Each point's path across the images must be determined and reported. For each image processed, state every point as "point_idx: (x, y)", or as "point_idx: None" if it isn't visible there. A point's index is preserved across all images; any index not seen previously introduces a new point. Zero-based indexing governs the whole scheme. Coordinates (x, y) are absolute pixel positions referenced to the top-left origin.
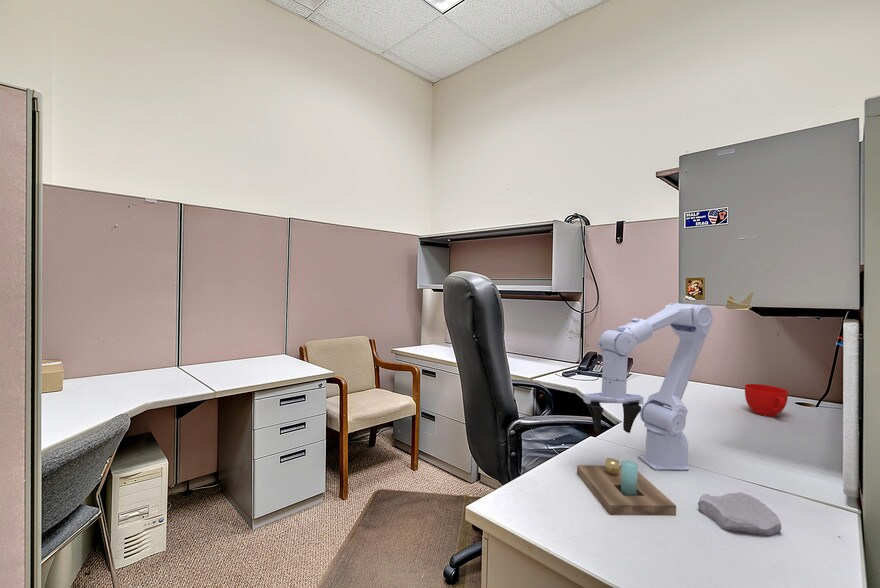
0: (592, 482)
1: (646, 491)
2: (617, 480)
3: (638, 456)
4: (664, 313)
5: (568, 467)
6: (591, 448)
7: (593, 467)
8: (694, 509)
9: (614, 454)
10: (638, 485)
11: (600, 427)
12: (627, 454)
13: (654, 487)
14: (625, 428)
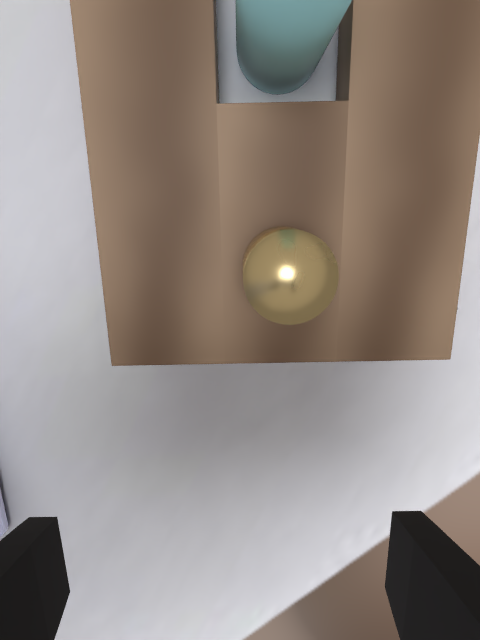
0: (474, 129)
1: (168, 13)
2: (292, 168)
3: (7, 527)
4: None
5: (441, 404)
6: (218, 602)
7: (362, 335)
8: None
9: (125, 548)
10: (184, 101)
11: (432, 553)
12: None
13: (88, 76)
14: (48, 588)
